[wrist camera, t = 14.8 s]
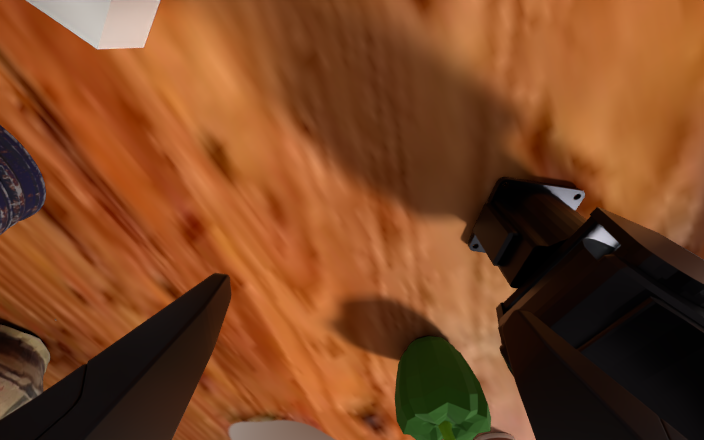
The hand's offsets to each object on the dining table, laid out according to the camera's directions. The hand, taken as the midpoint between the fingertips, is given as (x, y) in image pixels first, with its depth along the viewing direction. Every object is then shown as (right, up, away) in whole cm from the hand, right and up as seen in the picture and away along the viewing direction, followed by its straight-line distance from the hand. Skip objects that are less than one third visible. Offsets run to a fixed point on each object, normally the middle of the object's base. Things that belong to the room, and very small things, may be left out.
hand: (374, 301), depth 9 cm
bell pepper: (+8, -12, +23) cm, 27 cm away
